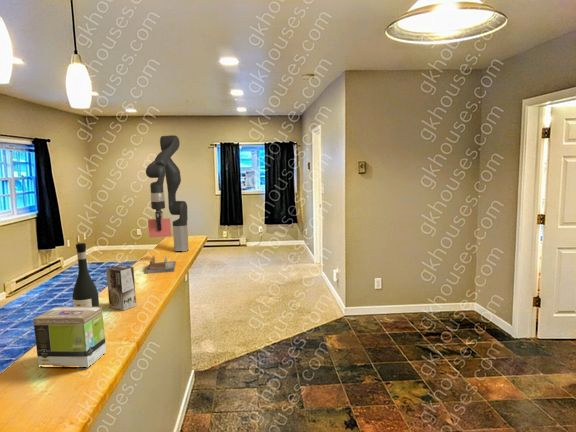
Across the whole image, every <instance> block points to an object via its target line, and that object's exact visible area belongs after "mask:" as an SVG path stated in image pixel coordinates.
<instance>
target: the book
mask: <svg viewBox="0 0 576 432" xmlns="http://www.w3.org/2000/svg"><path fill="white" fill-rule="evenodd" d="M158 221H160V220H158ZM171 226H172V225H171V218H169V217H166V218H162V220H161V228H162V230H161V231H158V230H157V224H156V218H151V219H150V218H149V219H148V220H147V227H148V237H149V238H165V237H171V236H172V227H171Z"/></svg>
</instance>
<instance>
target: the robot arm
mask: <svg viewBox="0 0 576 432" xmlns="http://www.w3.org/2000/svg"><path fill="white" fill-rule="evenodd" d="M159 143H160V152H158V154H157V155H156V157H155V159H154V160H153V161H151V163H149V164H148V165H147V167H146V169H145V174H146V177H148V178H150V179H157V180H156V181H153V182H151V183H150V185H149V186H150V187H149V188H150V189H149V190H150V207H151V209H152V210H155V212H154V216H155V217H154V218H155V219H156V224H157V230H158V231H161V230H162V228H161V220H162V219H164V218H163V211H162V210H163V209H166V199H165V193H164V182H166V188H167V201H168V211H169V214H170V215H172V216H179V218H178V219H175V220H173V221H172V233H173V234H172V235H173V251H174V250H175V251H186V252H188V251H189V247H190V246H189V234H188V233H189V232H188V230H189V229H188V205H187V202H186V201H184V200H177V199H176V197H177V196H176V195H177V192H178V189H179V187H180V185H181V183H182V178H181V176H182V175H181V170H180V169H179V167H178V165H176V163H175V162H174V160H173V159H172V156H173V155H174V154H175V153H176V152H177V151H178V150H179V148H180V144H181V143H180V138H179V137H178V136H177V135H174V134H172V135H171V134H170V135H162V136H160V139H159ZM164 180H166V181H164ZM158 220H160V221H158ZM187 250H188V251H187Z"/></svg>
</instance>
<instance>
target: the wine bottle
mask: <svg viewBox="0 0 576 432" xmlns="http://www.w3.org/2000/svg"><path fill="white" fill-rule="evenodd" d="M86 248H87V244H86V243H85V242H79V243H76V244H75V250H76V255H77V265H78V272H77V273H78V274H77V277H76V281H75V284H74V286H73V291H72V305H73V306H72V307H100V300H99V292H98V289H97V286H96V284H95V282H94V281H93V279H92V277H91V275H90V273H89V269H88V264H87V263H88V262H87V260H88V259H87V252H86V251H87V249H86Z"/></svg>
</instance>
